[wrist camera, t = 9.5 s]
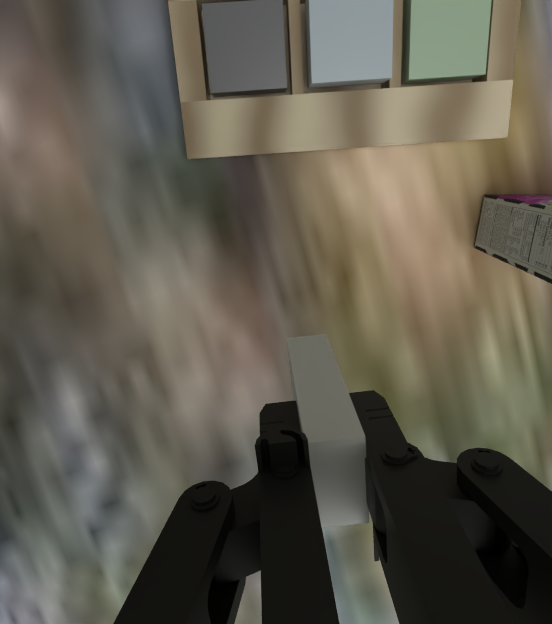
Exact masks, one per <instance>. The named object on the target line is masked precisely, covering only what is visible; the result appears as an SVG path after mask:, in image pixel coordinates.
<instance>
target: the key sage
mask: <svg viewBox="0 0 552 624" xmlns="http://www.w3.org/2000/svg"><path fill="white" fill-rule="evenodd" d="M491 1H492V0H403V17H402V56H401V84H415V83H430V82H445V81H460V80H470V79H473V78H476V77H479V76H482V75H485V74H486V62H487V50H488V38H489V25H490V13H491Z"/></svg>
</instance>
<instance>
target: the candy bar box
mask: <svg viewBox="0 0 552 624" xmlns="http://www.w3.org/2000/svg"><path fill="white" fill-rule="evenodd" d="M475 248H476V249H478V250H480V251H483V252H485V253H487V254H489V255H491V256H493V257H495V258H497V259H499V260H502V261H504V262H506V263H508V264H511V265H513V266H515V267H517V268H519V269H521V270H524V271H525V272H527V273H530V274H532V275H534V276H536V277H538V278H541V279H543V280H545V281H547V282H549V283H551V284H552V195H484V196H483V200H482V205H481V213H480V221H479V226H478V230H477V235H476V242H475Z"/></svg>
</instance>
